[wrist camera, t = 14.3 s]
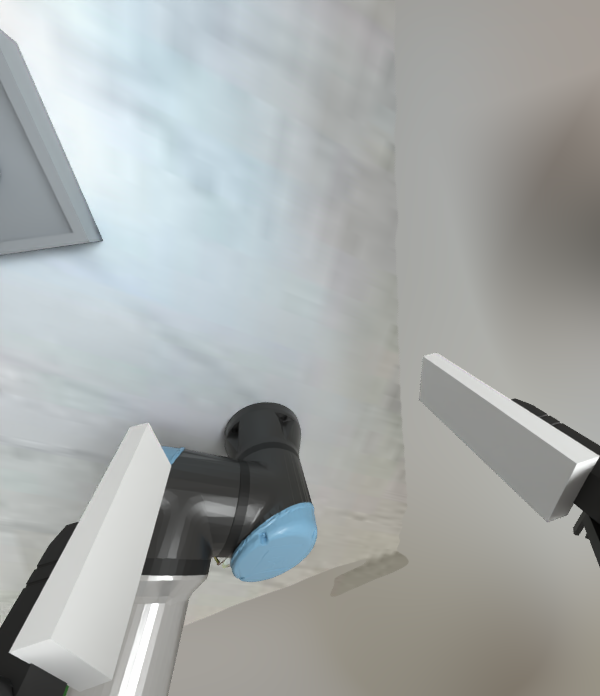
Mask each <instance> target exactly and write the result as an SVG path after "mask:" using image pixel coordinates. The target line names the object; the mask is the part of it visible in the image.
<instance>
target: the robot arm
mask: <svg viewBox="0 0 600 696" xmlns="http://www.w3.org/2000/svg"><path fill="white" fill-rule="evenodd" d="M419 400H420V401H421V402H422V403H423V404H424V405H425V406H426V407H427V408H428V409H429V410H430V411H431V412H432V413H433V414H434V415H435V416H436V417H438V418H439V419H440V420H441V421H442V422H443V423H444V424H445V425H446V426H447V427H448V428H449V429H450V430H451V431H452V432H453V433H454V434H455V435H456V436H458V438H459V439H461V440H462V441H463V442H464V443H465V444H466V445H467V446H468V447H469V448H470V449H471V450H472V451H473V452H474V453H475V454H476V455H477V456H478V457H479V458H480V459H482V460H483V461H484V462H485V463H486V464H487V465H488V466H489V467H490V468H491V469H492V470H493V471H494V472H495V473H496V474H497V475H498V476H499V477H500V478H501V479H502V480H504V481H505V482H506V483H507V484H508V485H509V486H510V487H511V488H512V489H513V490H514V491H515V492H516V493H517V494H518V495H519V496H520V497H521V498H522V499H524V501H525V502H527V503H528V504H529V505H530V506H531V507H532V508H533V509H534V510H535V511H536V512H537V513H538V514H539V515H540V516H541V517H542V518H543V519H544V520H545V521H546V522H550V521H553V520H555V519H558V518H561V517H563V516H566V515H568V513H569V511H570V509H571V507H572V506H573V504H576V505H577V506H578V507H579V508H580V509H582V510H583V512H582V514H581V515H580V517H579V519H578V521H577V522H576V524H575V526H574V527H573V530H574V534H575V535H579V534H580V532H581V531H582V529H583V528H584V527H585V530H586V532H587V534H586V536H585V538H587V539H589V540H590V543H591V545H592V548H593V551H594V553H595V556H596V558H597V561H598V564H599V566H600V446H599V445H598V444H596V443H594V442H592V441H591V440H589V439H588V438H586V437H584V436H583V435H581V434H579V433H578V432H576V431H574V430H573V429H571V428H570V427H568V426H566V425H565V424H561V423H560V422H559V421H558V420H556V419H555V418H553V417H551V416H548V415H547V414H546V413H545V412H543V411H541V410H540V409H538V408H536V407H535V406H533V405H531V404H529V403H526V402H523V401H521V400H518V399H511V400H510V399H509V398H507V397H506V396H504V395H502V394H501V393H499V392H498V391H496V390H495V389H493V388H492V387H490V386H488V385H487V384H485V383H484V382H482V381H480V380H479V379H477V378H476V377H474V376H473V375H471V374H469V373H468V372H466V371H465V370H463V369H462V368H460V367H458V366H457V365H455V364H454V363H452V362H450V361H449V360H447V359H446V358H444V357H443V356H441V355H439V354H438V353H434V354H429V355H425V356H423V361H422V372H421V383H420V395H419ZM300 441H301V429H300V425H299V422H298V419H297V417H296V416H295V414H294V413H293V412H292V411H291V410H290V409H288V408H287V407H285V406H283V405H280V404H276V403H258V404H254V405H250V406H248V407H246V408H244V409H242V410H240V411H239V412H238V413H236V414H235V415H234V416H233V417H232V418H231V420H230V421H229V423H228V425H227V427H226V430H225V449H226V452H227V454H228V457H229V458H228V457H223V456H217V455H212V454H207V453H202V452H196V451H191V450H186V449H185V448H184V447H181V448H173V447H166V446H161V445H160V443H159V441H158V439H157V437H156V436H155V434H154V432H153V430H152V428H151V426H150V424H149V422H148V423H144V424H140V425H136V426H132V427H130V428H129V430H128V431H127V433H126V435H125V437H124V439H123V441H122V443H121V444H120V446H119V448H118V450H117V452H116V454H115V456H114V457H113V459H112V461H111V463H110V465H109V467H108V469H107V471H106V472H105V474H104V476H103V478H102V480H101V482H100V484H99V485H98V487H97V489H96V491H95V493H94V495H93V497H92V498H91V500H90V502H89V504H88V506H87V508H86V510H85V512H84V513H83V515H82V517H81V519H80V521H79V522H76V523H73V524H69V525H67V526H66V527H65V528H64V529H63V530H62V531H61V532H60V533H59V535H58V536H57V537H56V538H55V539H54V540H53V541H52V542H51V543H50V545H49V546H48V548H47V550H46V551H45V553H44V555H43V556H42V558H41V560H40V561H39V563H38V565H37V569H36V570H34V572H33V573H32V575H31V577H30V578H29V580H28V582H27V583H26V584H27V586H26V588H24V589H23V590H22V592H21V594H20V595H19V597H18V599H17V600H16V602H15V604H14V605H13V607H12V609H11V611H10V612H9V614H8V616H7V617H6V619H5V621H4V622H3V624H2V626H1V627H0V696H63V694H64V691H65V689H66V686H67V685H68V686H69V688H68V691H67V694H66V696H168V693H169V688H170V683H171V679H172V674H173V670H174V665H175V661H176V656H177V652H178V647H179V642H180V638H181V633H182V628H183V624H184V620H185V615H186V611H187V606H188V601H189V598H190V596H191V595H192V593H193V592H194V591H195V590H196V589H197V588H198V587H199V586H200V585H201V584H202V583H203V582H204V581H205V580H206V579H207V576H208V572H209V567H210V562H211V558H212V557H226V558H231V561H230V567H231V568H232V572H233V574H234V576H235V577H236V578H239V579H240V580H242V581H245V582H256V581H262V580H266V579H270V578H273V577H275V576H278V575H280V574H282V573H284V572H286V571H288V570H289V569H291V568H293V567H294V566H296V565H297V564H299V563H300V562H301V561H302V560H303V559H304V558H305V557H306V556H307V555H308V554H309V553H310V551H311V550H312V548H313V546H314V544H315V542H316V538H317V526H316V521H315V516H314V507H313V504H312V502H311V498H310V495H309V491H308V488H307V484H306V481H305V477H304V473H303V470H302V466H301V463H300V459H299V449H300Z"/></svg>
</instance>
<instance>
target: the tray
mask: <svg viewBox="0 0 600 696" xmlns="http://www.w3.org/2000/svg"><path fill="white" fill-rule="evenodd" d="M97 241H103V239H102V237H101V235H100V232H99V230H98V228H97V226H96V223H95V221H94V219H93V216H92V214H91V212H90V210H89V207H88V205H87V203H86V200H85V198H84V196H83V194H82V191H81V189H80V187H79V184H78V182H77V180H76V178H75V175H74V173H73V171H72V168H71V166H70V164H69V162H68V159H67V157H66V155H65V152H64V150H63V148H62V146H61V143H60V141H59V139H58V136H57V134H56V132H55V129H54V127H53V125H52V123H51V120H50V118H49V116H48V113H47V111H46V109H45V107H44V104H43V102H42V100H41V97H40V95H39V93H38V91H37V88H36V86H35V84H34V81H33V79H32V77H31V75H30V72H29V70H28V68H27V65H26V63H25V61H24V59H23V56H22V54H21V52H20V49H19V47H18V45H17V43H16V42H15V41H14V40H13V39H12V38H10V37H9V36H8V35H7V34H5V33H4V32H3V31H2V30H1V29H0V255H4V254H12V253H19V252H26V251H33V250H40V249H47V248H54V247H61V246H68V245H75V244H82V243H89V242H97Z"/></svg>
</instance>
